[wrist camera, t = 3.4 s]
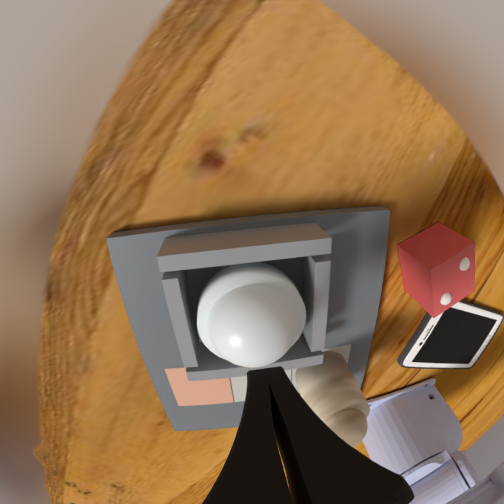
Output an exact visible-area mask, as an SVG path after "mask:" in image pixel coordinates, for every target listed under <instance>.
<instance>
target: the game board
mask: <svg viewBox="0 0 504 504" xmlns="http://www.w3.org/2000/svg"><path fill="white" fill-rule="evenodd" d="M390 211H391V210H390V209H388V208H386V207H384V206H371V207H355V208H340V209H326V210H313V211H301V212H289V213H278V214H267V215H256V216H246V217H236V218H227V219H217V220H208V221H199V222H191V223H182V224H174V225H166V226H158V227H150V228H142V229H135V230H128V231H120V232H113V233H111V234H110V235H109V236H108V237H107V238H106V240H107V244H108V248H109V252H110V256H111V260H112V264H113V268H114V271H115V275H116V279H117V282H118V286H119V289H120V292H121V296H122V299H123V302H124V305H125V309H126V312H127V315H128V318H129V321H130V324H131V327H132V330H133V333H134V335H135V338H136V341H137V344H138V347H139V349H140V352H141V355H142V357H143V360H144V362H145V365H146V367H147V370H148V372H149V375H150V377H151V380H152V382H153V384H154V387H155V389H156V391H157V394H158V396H159V398H160V401H161V403H162V405H163V407H164V409H165V412H166V414H167V416H168V418H169V420H170V422H171V424H172V426H173V428H174V430H175V431H186V430H207V429H221V428H232V427H239V424H240V421H241V417H242V413H243V408H244V403H245V398H246V390H247V372H248V371H249V370H256V369H264V368H271V367H278V366H281V367H283V369H284V371H285V372H286V374H287V376H288V378H289V379H290V381H291V382H292V384H293V385H294V387H295V388H296V390H297V391H298V393H299V394H300V392H299V389H298V386H297V383H296V379H295V373H296V370H297V368H302V367H308V366H313V365H318V364H323V355H324V354H323V352H326V351H333V352H337V353H339V354H341V355H342V356H343V357H344V359H345V361H346V363H347V365H348V367H349V369H350V370H351V372H352V374H353V376H354V378H355V380H356V382H357V384H358V386H359V388H361V385H362V381H363V377H364V373H365V369H366V365H367V361H368V357H369V353H370V348H371V344H372V339H373V334H374V330H375V324H376V319H377V314H378V308H379V303H380V297H381V290H382V284H383V277H384V270H385V262H386V254H387V245H388V235H389V224H390ZM252 262H261V263H266V264H269V265H272V266H275V267H277V268H279V269H280V270H282V271H283V272H285V273H286V274H287V275H288V276H289V277H290V278H291V280H292V281H293V283H294V284H295V286H296V288H297V290H298V292H299V294H300V296H301V298H302V300H303V302H304V305H305V309H306V322H305V326H304V329H303V331H302V334H301V335H300V337H299V338H298V340H297V341H296V342H295V344H294V345H293V346H292V347H291V348H289V350H288V351H287V352H286V353H285V354H284V355H283V356H282V357H281V358H280V359H278V360H277V361H275V362H273V363H271V364H269V365H266V366H262V367H255V368H249V367H243V366H239V365H236V364H233V363H231V362H230V361H228V360H225V359H223V358H220V357H218V356H217V355H215V354H214V353H212V352H211V351H210V350H209V349H208V348H207V347H206V346H205V345H204V343H203V342H202V340H201V338H200V336H199V333H198V329H197V313H198V301H199V297H200V294H201V291H202V289H203V288H204V286H205V284H206V283H207V282H208V281H209V280H210V279H211V278H212V277H213V276H214V275H215V274H216V273H218V272H219V271H221V270H222V269H224V268H226V267H229V266H231V265H234V264H243V263H252Z"/></svg>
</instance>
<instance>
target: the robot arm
mask: <svg viewBox="0 0 504 504" xmlns="http://www.w3.org/2000/svg"><path fill="white" fill-rule="evenodd" d="M435 382H436V379H435V378H431V379H428V380H426V381H423V382H421V383H418V384H415V385H413V386H410V387H407V388H405V389H402V390H399V391H396V392H393V393H390V394H387V395H384V396H381V397H377V398H374V399H371V400H367V403H368V405H369V407H370V413H369V415H368V417H367V418H366V419H367V423H368V429H367V433H366V435H365V437H364V439H363V440H362V441H363V443H364V445H365V448H366V450H367V452H368V455H369V457H370V459H369V458H367V457H366V456H365V455H363V454H362V453H360V452H359V451H357V450H356V449H354V448H353V447H352V446H350V445H349V444H348V443H346V442H345V441H344V440H343V439H341V438H340V437H339V436H338V435H337V434H336V433H335V432H333V431H332V430H331V429H330V428H329V427H328V426H327V425H326V424H325V423H324V422H323V421H322V420H321V419H320V418H319V417H318V416H317V415H316V413H315V412H314V411H313V410H312V409H311V408H310V407H309V405H308V404H307V403H306V402H305V400H304V399H303V398H302V397H301V395H300V394H299V393H298V391H297V390H296V388H295V387H294V385H293V384H292V382H291V381H290V379H289V378H288V376H287V374H286V372H285V371H284V369H283V367H281V366H278V367H271V368H264V369H256V370H249V371H248V372H247V390H246V398H245V403H244V408H243V413H242V417H241V421H240V424H239V428H238V431H237V434H236V437H235V440H234V443H233V446H232V448H231V451H230V453H229V456H228V458H227V460H226V462H225V464H224V467H223V469H222V471H221V473H220V475H219V477H218V478H217V480H216V482H215V484H214V485H213V487H212V489H211V491H210V492H209V494H208V495H207V497H206V499H205V500H204V501H203V503H202V504H504V462H503V463H501V464H500V465H499V466H498V467H497V468H495V469H494V470H493V472H491V473H490V475H488V476H487V477H486V478H484V479H483V480H480V478H479V476H478V475H477V473H476V471H475V469H474V468H473V466H472V464H471V463H470V461H469V459H468V458H467V456H466V455H465V453H464V451H458V449H459V447H460V445H461V442H462V429H461V425H460V423H459V420H458V419H457V417H456V415H455V414H454V413H453V411H452V410H451V408H450V407H449V405H448V404H447V403H446V401H445V400H444V398H443V397H442V396H441V394H440V393H439V391H438V390H437V389H436V387H435V386H434V384H435ZM276 441H277V442H276ZM277 444H278V446H277ZM278 447H279V450H280V454H281V457H282V460H283V463H284V467H285V470H286V474H287V479H288V484H289V488H288V484H287V480H286V477H285V473H284V469H283V466H282V462H281V458H280V454H279V450H278ZM452 455H453V456H452ZM289 489H290V491H289ZM290 494H291V495H290Z"/></svg>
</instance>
